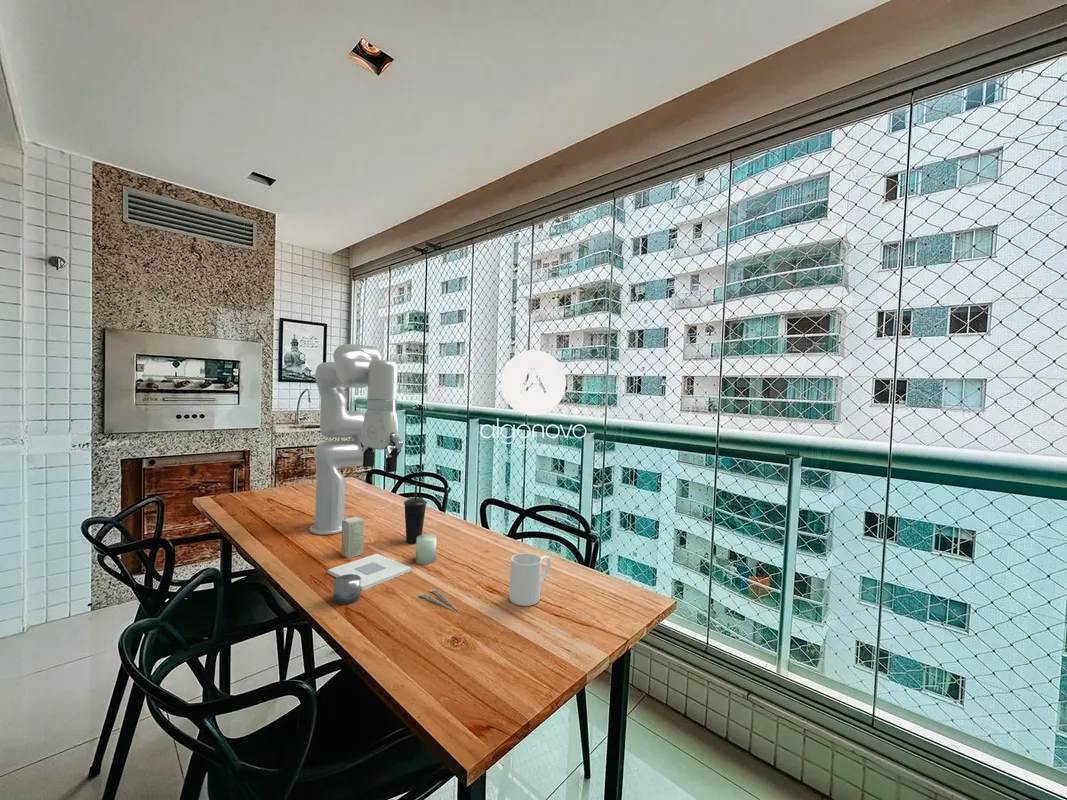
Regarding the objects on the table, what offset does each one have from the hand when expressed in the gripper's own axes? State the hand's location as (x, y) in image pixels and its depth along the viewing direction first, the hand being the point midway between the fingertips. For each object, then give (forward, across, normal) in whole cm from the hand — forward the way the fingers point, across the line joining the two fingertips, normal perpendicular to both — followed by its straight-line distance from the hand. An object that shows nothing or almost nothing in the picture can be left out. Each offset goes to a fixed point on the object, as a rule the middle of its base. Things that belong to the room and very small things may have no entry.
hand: (379, 469), depth 121 cm
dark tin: (+31, +4, -11) cm, 33 cm away
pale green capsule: (+30, 0, +18) cm, 35 cm away
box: (+31, -20, +6) cm, 37 cm away
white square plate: (+30, -5, +2) cm, 31 cm away
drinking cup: (+31, -15, +26) cm, 43 cm away
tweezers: (+31, +25, +3) cm, 40 cm away
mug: (+31, +38, +20) cm, 53 cm away
